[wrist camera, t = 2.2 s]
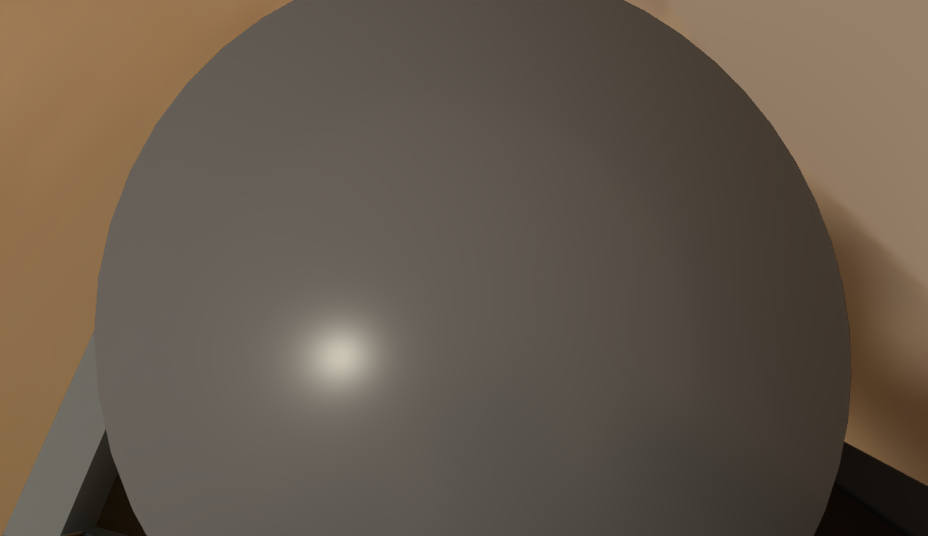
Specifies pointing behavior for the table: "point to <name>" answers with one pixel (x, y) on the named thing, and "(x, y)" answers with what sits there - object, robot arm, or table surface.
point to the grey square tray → (70, 466)
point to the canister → (470, 286)
